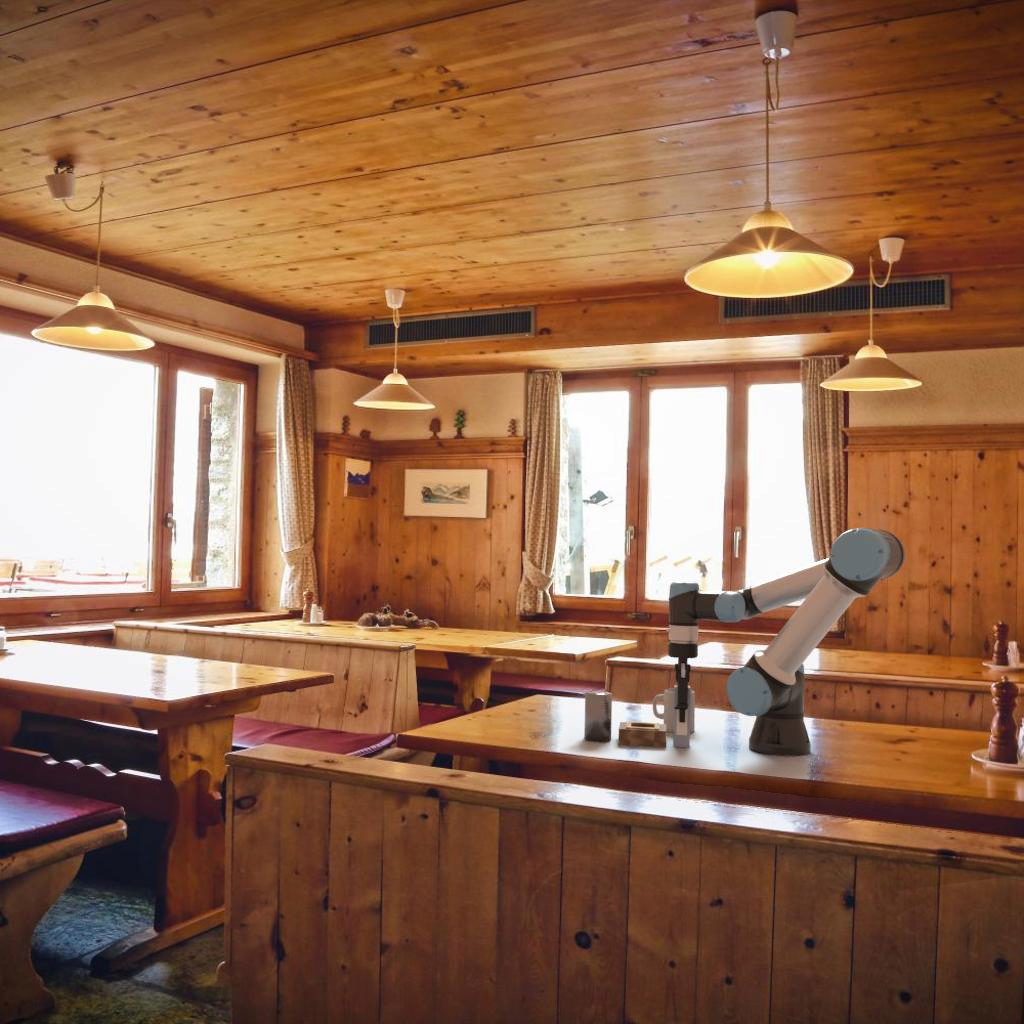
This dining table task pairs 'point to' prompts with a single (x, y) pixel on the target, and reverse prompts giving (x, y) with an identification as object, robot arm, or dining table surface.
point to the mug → (669, 709)
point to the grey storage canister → (598, 716)
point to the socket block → (642, 734)
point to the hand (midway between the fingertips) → (681, 732)
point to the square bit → (677, 739)
